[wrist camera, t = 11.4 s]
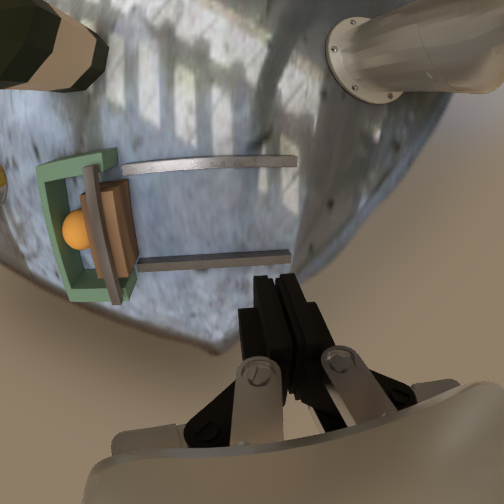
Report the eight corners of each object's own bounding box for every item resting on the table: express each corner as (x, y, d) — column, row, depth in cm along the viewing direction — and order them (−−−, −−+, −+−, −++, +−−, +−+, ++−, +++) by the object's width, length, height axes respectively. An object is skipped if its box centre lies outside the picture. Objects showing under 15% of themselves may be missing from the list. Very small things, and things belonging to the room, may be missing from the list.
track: (293, 155, 31) (297, 156, 30) (287, 257, 38) (290, 263, 36) (125, 163, 29) (121, 165, 27) (140, 266, 35) (138, 272, 34)
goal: (116, 147, 28) (101, 152, 23) (136, 279, 36) (128, 301, 32) (56, 159, 27) (35, 166, 22) (82, 281, 35) (70, 301, 30)
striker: (125, 154, 28) (105, 163, 22) (142, 274, 35) (132, 304, 29) (95, 159, 28) (70, 169, 22) (116, 275, 35) (102, 305, 29)
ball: (96, 201, 31) (94, 211, 27) (103, 236, 33) (102, 251, 29) (61, 209, 29) (55, 220, 25) (69, 244, 31) (65, 260, 27)
